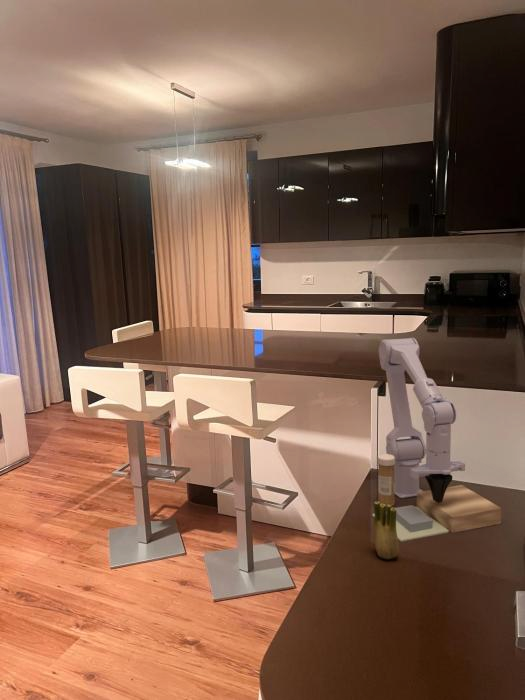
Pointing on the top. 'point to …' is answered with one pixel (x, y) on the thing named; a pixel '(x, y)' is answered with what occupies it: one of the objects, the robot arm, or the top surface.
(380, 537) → the fennel bulb
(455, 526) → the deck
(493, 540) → the top surface
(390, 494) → the sprinkles bottle
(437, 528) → the mat
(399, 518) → the grey rectangular block
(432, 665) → the top surface
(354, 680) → the top surface
